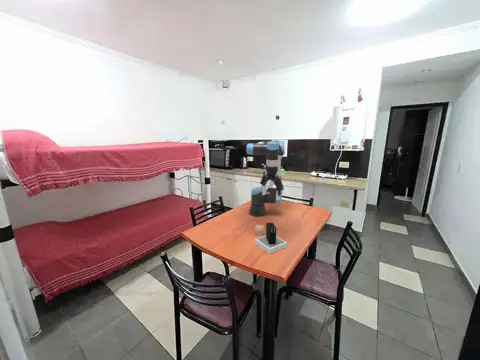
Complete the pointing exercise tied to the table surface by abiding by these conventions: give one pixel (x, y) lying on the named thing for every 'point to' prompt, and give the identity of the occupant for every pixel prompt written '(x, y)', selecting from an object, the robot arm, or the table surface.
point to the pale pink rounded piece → (259, 229)
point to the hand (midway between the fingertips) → (270, 197)
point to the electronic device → (271, 233)
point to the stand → (268, 247)
